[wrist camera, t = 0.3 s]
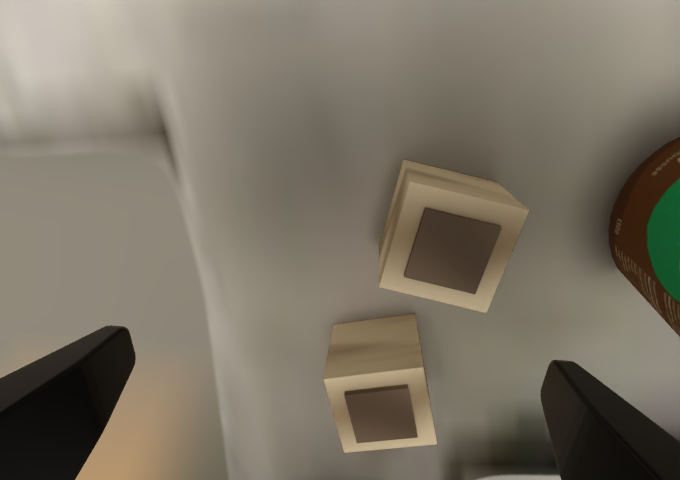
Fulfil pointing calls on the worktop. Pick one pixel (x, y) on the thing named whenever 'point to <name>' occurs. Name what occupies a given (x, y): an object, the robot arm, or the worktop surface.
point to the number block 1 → (379, 385)
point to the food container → (651, 231)
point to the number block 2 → (448, 236)
